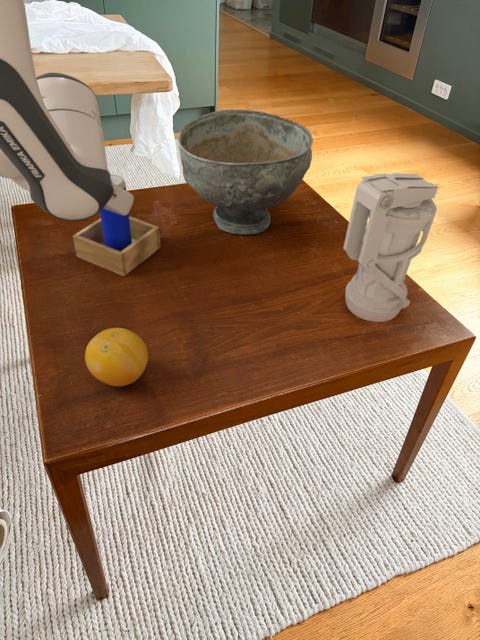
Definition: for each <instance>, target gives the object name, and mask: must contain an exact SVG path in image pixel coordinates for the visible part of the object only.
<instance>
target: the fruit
mask: <svg viewBox="0 0 480 640" xmlns="http://www.w3.org/2000/svg"><path fill="white" fill-rule="evenodd" d="M84 359H85V361H84V362H85V365H86V367H87V369H88V371H89V373H91V375H92V376H93V377H94V378H96V379H97V380H98V381H100V382H101V383H103V384H106V385H108V386H112V387H125V386H128V385H131V384H133V383H135V382H136V381H137V380H138V379H139V378H140V377H141V376H142V374H143V373H144V371H145V370H146V367H147V365H148V363H149V352H148V347H147V346H146V344H145V342H144V341H143V339H142V338H141V337H140V336H139V335H138V334H137V333H135V332H133V331H131V330H130V329H126V328H123V327H110V328H107V329H103V330H102V331H100V332H98V333H97V334H95V336H93V338H91V340H90V341H89V342H88V344H87V346H86V349H85V353H84Z"/></svg>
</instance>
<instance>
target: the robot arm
mask: <svg viewBox="0 0 480 640" xmlns="http://www.w3.org/2000/svg"><path fill="white" fill-rule="evenodd" d="M28 24H29V23H28V17H27V10H26V4H25V0H0V178H4V179H10V180H12V181H13V182H14V183H15V185H17V186H18V187H20V188H22V189H24V190H26V191H27V192H29V194H30V199H31V201H33V203H34V204H35V205H36V206H37V207H38V208H39V209H41V210H42V211H44V212H45V213H47V214H48V215H50V216H52V217H54V218H56V219H58V220H62V221H68V222H79V221H85V220H88V219H91V218H93V217H95V216H97V215H98V214H100V211H101V210H102V209H106V210H109V211H111V212H114V213H117V214H120V215H123V216H126V215H127V214H128V213H129V214H130V211H131V209H132V207H133V204H134V201H135V196H134V194H132V193H131V192H129V191H128V190H127V189H126V190H124V189H123V188H121V187H119V186H118V185H116V184H114V183H113V182H112V181H111V176H110V175H111V173H110V171H109V165H108V159H107V151H106V146H105V139H104V138H105V137H104V132H103V129H102V120H101V115H100V109H99V103H98V97H97V95H96V93H95V92H94V90H92V88H91V87H90V86H88V84H86V83H85V82H84V81H82V80H80V79H78V78H76V77H74V76H71V75H68V74H65V73H60V72H46V73H43V74H39V75H38V76H37V74H36V70H35V65H34V64H35V63H34V60H33V53H32V47H31V46H32V45H31V40H30V32H29V26H28Z"/></svg>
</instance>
